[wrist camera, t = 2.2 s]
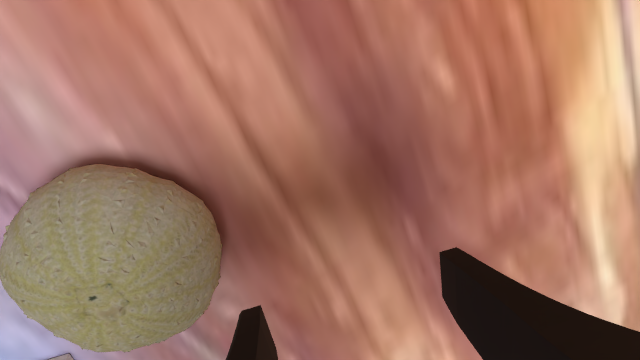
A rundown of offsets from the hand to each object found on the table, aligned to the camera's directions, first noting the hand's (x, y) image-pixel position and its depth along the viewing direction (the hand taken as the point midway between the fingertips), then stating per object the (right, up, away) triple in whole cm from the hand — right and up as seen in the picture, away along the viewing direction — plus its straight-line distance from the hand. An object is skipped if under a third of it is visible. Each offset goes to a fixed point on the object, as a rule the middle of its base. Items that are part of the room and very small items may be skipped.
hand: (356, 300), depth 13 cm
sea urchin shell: (-11, +1, +7) cm, 13 cm away
